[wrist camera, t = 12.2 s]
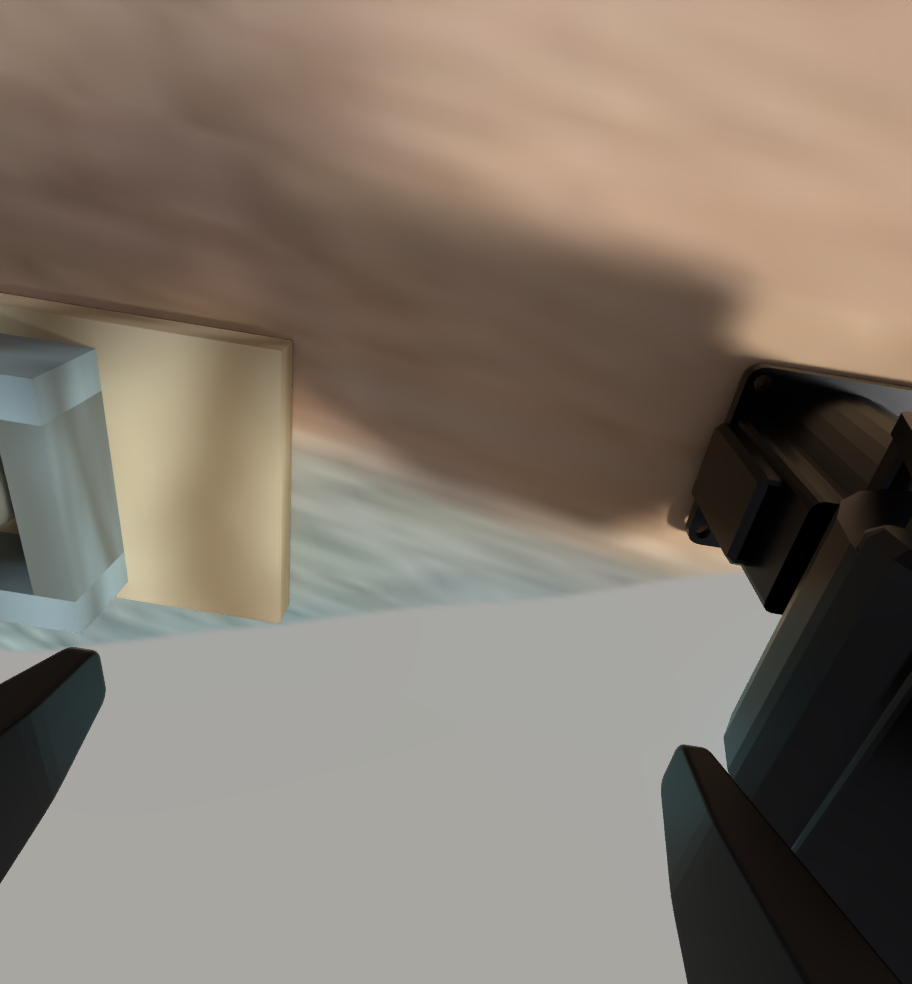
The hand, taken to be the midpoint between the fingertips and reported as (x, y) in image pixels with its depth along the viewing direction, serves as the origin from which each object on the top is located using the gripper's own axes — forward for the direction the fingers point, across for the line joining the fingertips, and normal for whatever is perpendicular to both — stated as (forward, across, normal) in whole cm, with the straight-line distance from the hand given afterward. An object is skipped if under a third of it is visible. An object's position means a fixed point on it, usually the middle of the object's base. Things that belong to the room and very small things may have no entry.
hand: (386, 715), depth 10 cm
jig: (+13, +14, +4) cm, 19 cm away
